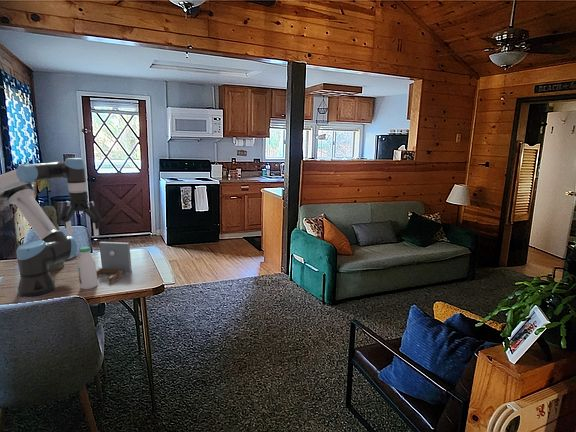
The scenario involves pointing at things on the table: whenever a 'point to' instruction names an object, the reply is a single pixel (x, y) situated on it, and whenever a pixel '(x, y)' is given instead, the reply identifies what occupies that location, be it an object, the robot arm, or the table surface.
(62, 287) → the table surface
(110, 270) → the notch cradle
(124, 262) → the wall panel
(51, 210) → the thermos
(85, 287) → the milk bottle
